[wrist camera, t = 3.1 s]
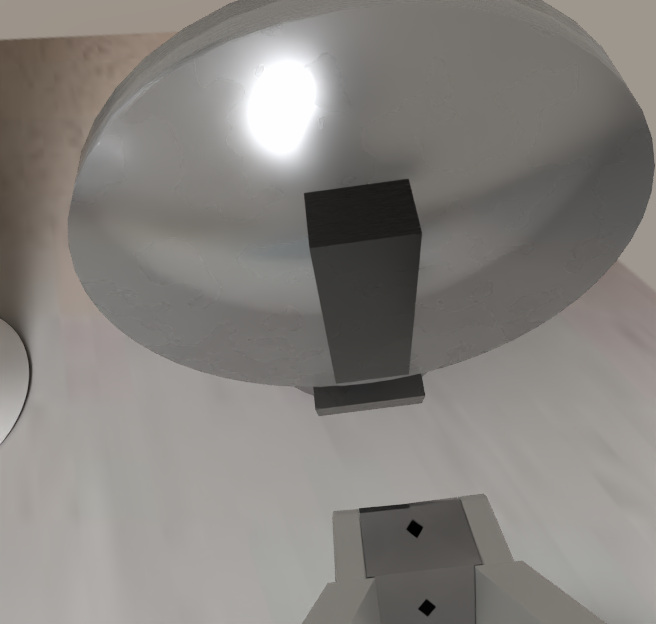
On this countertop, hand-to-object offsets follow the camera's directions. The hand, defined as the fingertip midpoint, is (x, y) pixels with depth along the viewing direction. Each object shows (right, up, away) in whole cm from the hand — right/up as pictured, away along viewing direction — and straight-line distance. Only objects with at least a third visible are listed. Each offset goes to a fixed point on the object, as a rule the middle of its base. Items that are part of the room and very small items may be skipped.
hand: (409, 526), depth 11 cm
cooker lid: (-1, +7, +9) cm, 11 cm away
